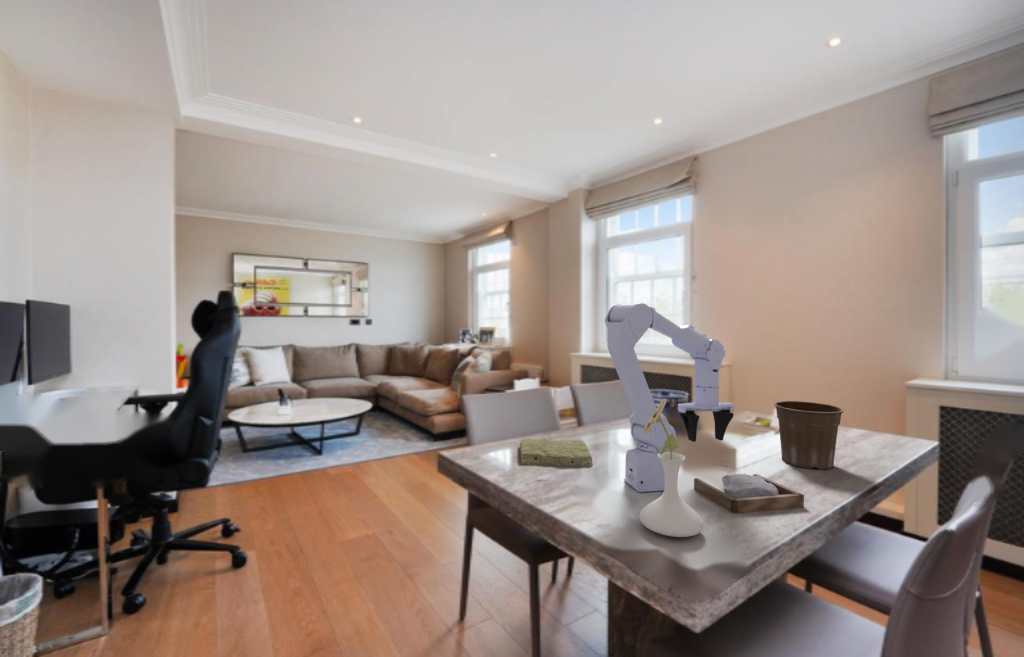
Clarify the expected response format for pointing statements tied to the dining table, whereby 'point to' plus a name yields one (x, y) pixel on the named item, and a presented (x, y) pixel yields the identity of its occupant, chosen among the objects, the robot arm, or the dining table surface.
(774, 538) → the dining table surface
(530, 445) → the decorative tile
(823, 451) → the plant pot
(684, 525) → the flower in vase
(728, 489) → the stone block
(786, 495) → the walnut corral
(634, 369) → the robot arm
